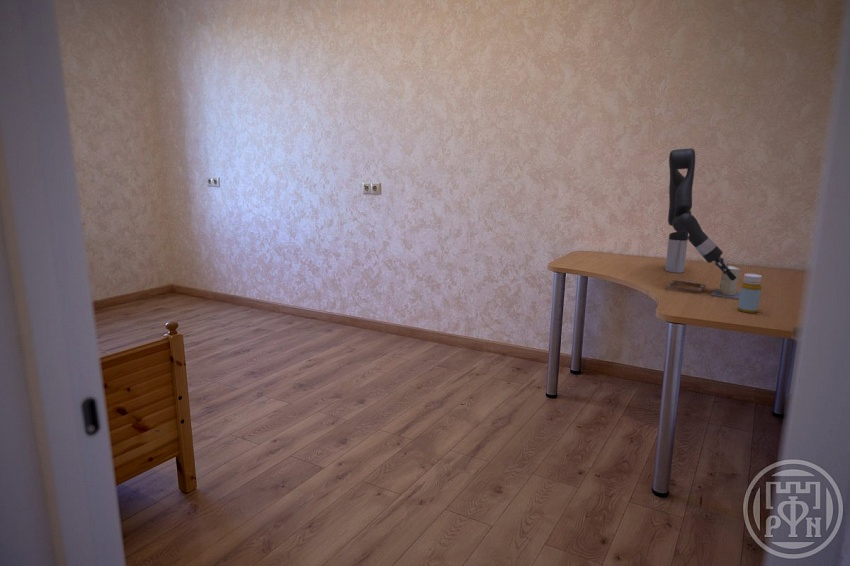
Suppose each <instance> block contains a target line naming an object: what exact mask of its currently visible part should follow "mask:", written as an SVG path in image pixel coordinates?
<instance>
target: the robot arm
mask: <svg viewBox="0 0 850 566" xmlns="http://www.w3.org/2000/svg"><path fill="white" fill-rule="evenodd" d="M668 165H669V166H668V167H669V188H668V189H669V191H668V194H669V196H668V197H669V202H668V203H669V206H668V207H669V208H668V215H667V222H668V225H669V226H671V227H673V229H674V230H675V231H674V232H670V233H669V234H668V242H667V249H666V250H667V251H666V261H665V268H664V270H665V271H666V272H668V271H669V272H668V273H676V274H681V273H685V272H684V271H685V265H686V264H685V263H686V259H687V258H686V257H687V249H688V248H687V247H688V241H689V243H690V244H691V245H692V246H693V247H694V248H695V249H696V251H697V252H698V253H699V254H700V256H701V257H702V259H704V260H705V261H706V262H707V263H710V264H711V263H713V262H715V263H714V264H715V266H716V267H717V268H718V269H719V270H720V271H721V272H722V271H723V273H724V274H726V275H727V276H728V277H729V278H730V279H731V280H732V281H733V280H734V279H736V276H735V275H734V274H733V273H732V272H731V270H730V269H729V266H730V265H729V264H728V263H727V261H726V260H725V258H723V257H721V256H722V255H723V253H724V252H723V251H722V250H721V249H720V247H719V246H718V245H717V243H716V242H714V241H713V239H711V238H710V237H709V236H708V235H707V234H706V233H705V232H704V231H703V229H702V227H701V225H700V224H699V222H698V220H697V218H696V217H695V215H693V214H692V208H693V186H694V185H693V184H694V177H695V170H696V168H695V167H696V152H695V149H694V148H679V149H672V150H671V151H670V153H669V155H668ZM679 170H687V172H686V174H685V176H684V175H683V174H682V173H681V172H680V171H679ZM726 269H727V270H726ZM724 270H726V271H724Z"/></svg>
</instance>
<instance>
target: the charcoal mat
mask: <svg viewBox="0 0 850 566" xmlns="http://www.w3.org/2000/svg"><path fill="white" fill-rule="evenodd" d="M740 292H741V291H737V290H736V294H735V295H725V294H723V293H721V292H719V288H715V289H713V291H712V292H711V294H710V296H711V297H716V296H717V298H718V297H719V298H723V297H724V299H725V298H726V299H730V298H731V299H732V300H738V301H739V298H740Z"/></svg>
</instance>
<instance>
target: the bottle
mask: <svg viewBox="0 0 850 566" xmlns="http://www.w3.org/2000/svg"><path fill="white" fill-rule="evenodd" d="M762 279H763V278H762V275H761V274H756V273H744V275H743V280H742V281H743V282H742V283H741V286H740V291H739V292H740V298H739V300H738V306H737V309H738V310H739V311H740V312H742V313H747V314H755V313H757V312H758V310H759V305H760V299H761V292H762V285H761V283H762Z"/></svg>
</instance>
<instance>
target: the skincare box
mask: <svg viewBox="0 0 850 566" xmlns="http://www.w3.org/2000/svg"><path fill="white" fill-rule="evenodd" d="M728 266H729V269H730V270H731V272H732V273H733V274H734V275H735V276H736V279H734V280H733V281H732V280H731V279H730V278H729V277H728V276H727V275H726V274H724V273H723V271H721V278H720V283H719V288H718V289H719V292H721V293H723V294H725V295H735V294H736V291H737V288H738V281H739V276H740V271H741V269H740V268H738V267H735V266H732V265H728ZM726 270H727V269H726ZM726 270H724V271H726Z"/></svg>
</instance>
